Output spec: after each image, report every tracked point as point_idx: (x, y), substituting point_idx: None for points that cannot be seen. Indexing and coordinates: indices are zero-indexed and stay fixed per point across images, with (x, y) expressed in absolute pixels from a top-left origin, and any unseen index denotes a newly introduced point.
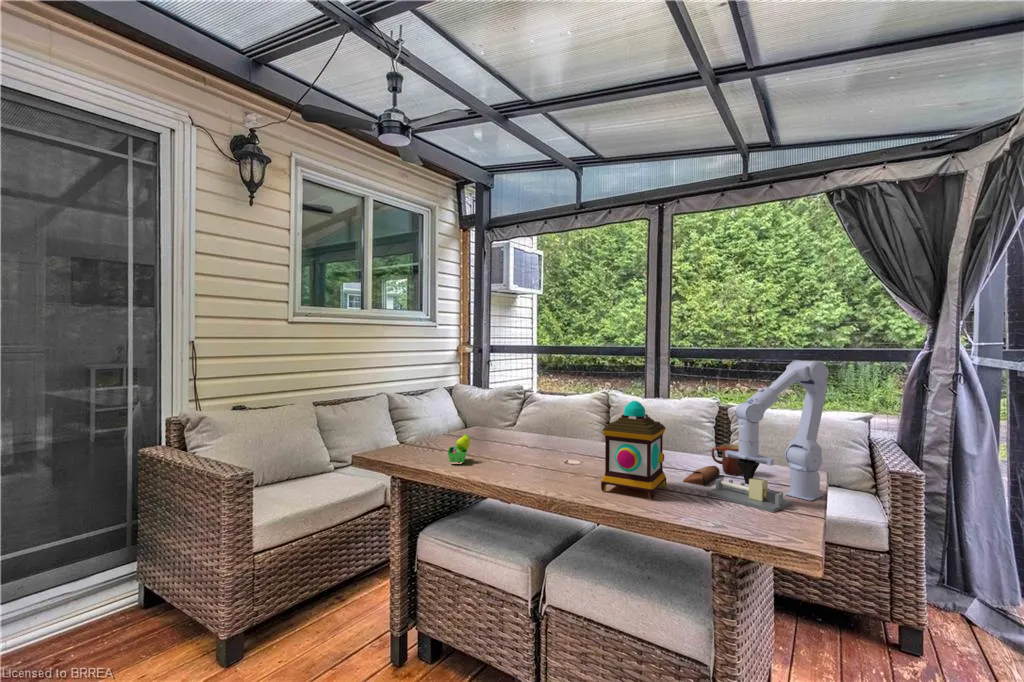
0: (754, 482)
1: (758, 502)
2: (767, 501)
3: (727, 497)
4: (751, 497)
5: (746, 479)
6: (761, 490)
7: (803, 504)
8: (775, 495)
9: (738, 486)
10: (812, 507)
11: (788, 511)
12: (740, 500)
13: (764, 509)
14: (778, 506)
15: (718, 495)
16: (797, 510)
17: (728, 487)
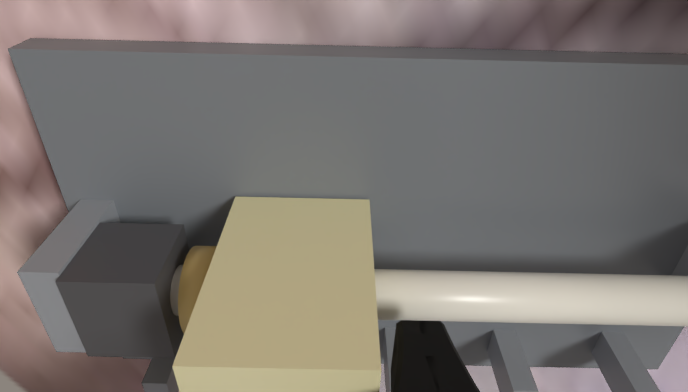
0: (297, 342)
1: (238, 145)
2: (211, 235)
3: (562, 60)
4: (343, 206)
5: (428, 367)
6: (212, 271)
7: (104, 385)
8: (60, 262)
9: (518, 289)
10: (36, 373)
11: (18, 190)
12: (399, 59)
13: (121, 43)
14: (65, 180)
15: (676, 61)
16: (16, 261)
17: (625, 332)
